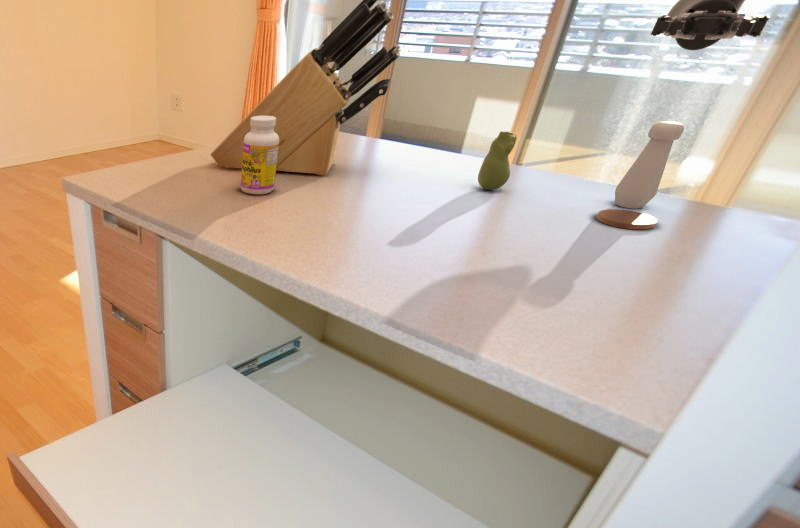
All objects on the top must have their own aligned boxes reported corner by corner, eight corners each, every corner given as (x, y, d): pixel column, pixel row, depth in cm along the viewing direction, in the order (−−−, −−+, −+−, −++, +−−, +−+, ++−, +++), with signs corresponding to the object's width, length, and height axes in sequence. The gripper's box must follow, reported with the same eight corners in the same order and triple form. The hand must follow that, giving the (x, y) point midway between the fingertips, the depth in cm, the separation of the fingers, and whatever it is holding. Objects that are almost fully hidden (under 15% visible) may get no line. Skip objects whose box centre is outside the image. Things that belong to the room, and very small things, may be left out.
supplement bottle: (233, 190, 108) (237, 117, 100) (256, 184, 111) (262, 113, 103) (257, 197, 103) (264, 122, 95) (280, 191, 107) (289, 117, 99)
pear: (475, 184, 108) (493, 127, 101) (504, 186, 106) (525, 129, 99) (473, 191, 104) (491, 133, 98) (503, 194, 102) (525, 135, 96)
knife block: (372, 180, 111) (414, -12, 92) (209, 168, 121) (215, -7, 102) (376, 167, 119) (414, -12, 100) (223, 157, 130) (231, -7, 110)
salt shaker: (604, 205, 96) (644, 122, 87) (613, 198, 99) (652, 117, 90) (644, 212, 92) (689, 127, 84) (652, 204, 95) (696, 121, 87)
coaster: (654, 218, 89) (657, 214, 89) (654, 233, 84) (657, 227, 84) (597, 211, 93) (599, 206, 93) (594, 224, 88) (596, 219, 88)
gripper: (665, -3, 97) (667, -2, 87) (771, -5, 90) (786, -4, 80) (643, 47, 102) (642, 54, 92) (742, 49, 95) (753, 57, 85)
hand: (709, 27), depth 86 cm, fingers open, 8 cm apart
